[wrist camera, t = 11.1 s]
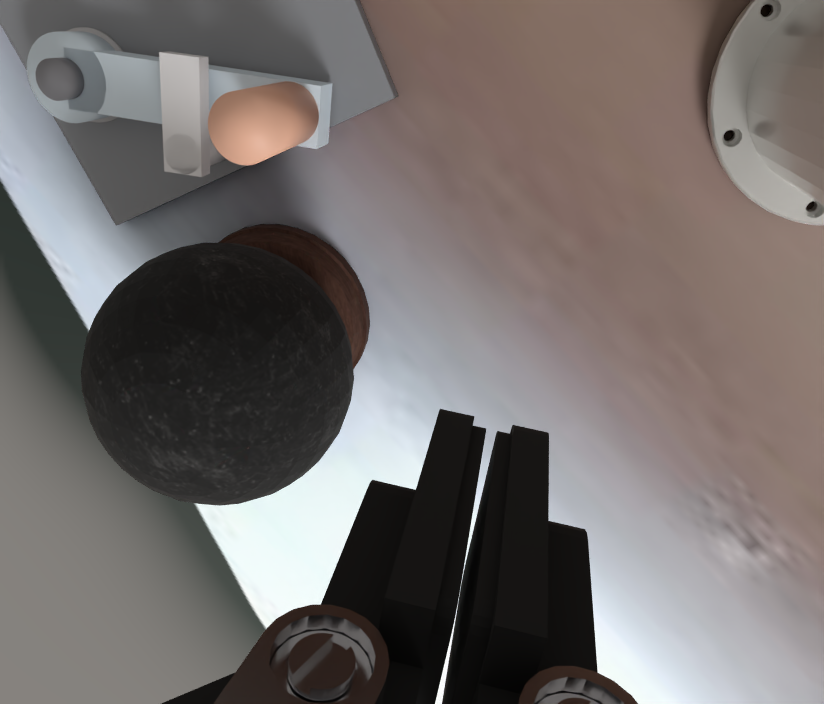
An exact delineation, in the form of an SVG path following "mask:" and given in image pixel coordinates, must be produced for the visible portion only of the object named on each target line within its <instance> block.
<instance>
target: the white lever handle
mask: <svg viewBox="0 0 824 704" xmlns="http://www.w3.org/2000/svg"><path fill="white" fill-rule="evenodd" d="M27 75H28V80H29V83H30V86H31V89H32V91H33V93H34V95H35V97H36V98H37V100H38V101H39V103H40V104H41V105H42V106H43V107H44V109H45V110H46V111H48V112H49V113H50V114H51V115H53V116H54V117H56V118H58V119H60V120H62V121H65V122H69V123H83V122H88V121H93V120H98V119H103V118H107V117H110V116H115V117H121V118H127V119H134V120H140V121H146V122H152V123H158V124H162V107H161V84H160V61H159V57H155V56H149V55H142V54H135V53H129V52H122V51H115V49H114V48H113V47H112V46H111V45H110V44H109V43H108V42H107V41H105V40H104V39H103V38H101V37H99V36H97V35H95V34H93V33H89V32H82V31H57V32H50V33H46V34H44V35H42V36H41V37H39V38H38V39H37V40H36V41H35V42H34V44H33V45H32V47H31V49H30V51H29V54H28V59H27ZM331 97H332V83H327V82H321V81H314V80H308V79H301V78H294V77H288V76H281V75H274V74H268V73H261V72H255V71H248V70H241V69H235V68H228V67H221V66H215V65H209V117H208V130H209V135H210V138H211V140H212V143H213V144H214V146H215V148H216V149H217V150H218V152H219V153H220V154H221V155H222V156H223V157H225V158H226V159H227V160H229V161H231V162H233V163H236V164H239V165H254V164H257V163H259V162H261V161H264V160H266V159H268V158H270V157H272V156H275V155H277V154H279V153H281V152H284V151H286V150H288V149H290V148H292V147H295V146H300V147H306V148H313V149H318V148H320V147H322V146H324V145H326V144H328V141H329V126H330V112H331Z"/></svg>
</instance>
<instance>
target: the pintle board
mask: <svg viewBox="0 0 824 704" xmlns="http://www.w3.org/2000/svg"><path fill="white" fill-rule="evenodd" d="M0 24H1V26H2V28H3V30H4V31H5V33H6V35H7V37H8V38H9V40H10V42H11V44H12V45H13V47H14V49H15V50H16V52H17V54H18V56H19V57H20V59H21V61H22V63H23V64H24V66H25V68H26V70H27V59H28V54H29V51H30V49H31V47H32V45H33V44H34V42H35V41H36V40H37V39H38V38H39V37H41V36H42V35H44V34H46V33H50V32H57V31H82V32H89V33H93V34H95V35H97V36H99V37H101V38H103V39H104V40H105V41H107V42H108V43H109V44H110V45H111V46H112V47H113V48H114V49H115V51H122V52H129V53H135V54H142V55H149V56H155V57H159V61H160V84H161V107H162V124H158V123H152V122H146V121H140V120H134V119H127V118H121V117H115V116H110V117H107V118H103V119H98V120H93V121H88V122H83V123H69V122H65V121H62V120H60V119H58V118H56V117H54V116H53V117H54V118H55V120H56V122H57V124H58V125H59V127H60V129H61V131H62V132H63V134H64V136H65V137H66V139H67V141H68V143H69V144H70V146H71V148H72V150H73V151H74V153H75V155H76V157H77V158H78V160H79V162H80V164H81V165H82V167H83V169H84V171H85V172H86V174H87V176H88V178H89V179H90V181H91V183H92V184H93V186H94V188H95V190H96V191H97V193H98V195H99V197H100V198H101V200H102V202H103V204H104V205H105V207H106V209H107V211H108V212H109V214H110V216H111V218H112V219H113V221H114V223H115V224H116V225H119V224H121V223H123V222H125V221H128V220H130V219H132V218H134V217H136V216H138V215H141V214H143V213H145V212H147V211H149V210H152V209H154V208H156V207H158V206H160V205H162V204H165V203H167V202H169V201H171V200H173V199H175V198H178V197H180V196H182V195H184V194H186V193H189V192H191V191H193V190H195V189H197V188H199V187H202V186H204V185H206V184H208V183H210V182H213V181H215V180H217V179H219V178H221V177H223V176H226V175H228V174H230V173H232V172H234V171H236V170H239V169H241V168H243V167H245V166H247V165H239V164H236V163H233V162H231V161H229V160H227V159H226V158H225V157H223V156H222V155H221V154H220V153H219V152H218V150H217V149H216V148H215V146H214V144H213V143H212V140H211V138H210V135H209V130H208V117H209V65H215V66H221V67H228V68H235V69H241V70H248V71H255V72H261V73H268V74H274V75H281V76H288V77H294V78H301V79H308V80H314V81H321V82H327V83H332V97H331V112H330V126H329V128H330V127H332V126H335V125H337V124H339V123H341V122H343V121H345V120H348V119H350V118H352V117H354V116H356V115H359V114H361V113H363V112H365V111H367V110H369V109H372V108H374V107H376V106H378V105H380V104H382V103H385V102H387V101H389V100H391V99H393V98H396V97H398V94H397V91H396V89H395V86H394V84H393V81H392V79H391V76H390V74H389V72H388V69H387V67H386V64H385V62H384V59H383V57H382V54H381V52H380V49H379V47H378V45H377V42H376V40H375V37H374V35H373V32H372V30H371V27H370V25H369V23H368V20H367V18H366V15H365V13H364V10H363V8H362V5H361V3H360V1H359V0H0Z"/></svg>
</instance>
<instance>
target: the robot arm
mask: <svg viewBox="0 0 824 704" xmlns="http://www.w3.org/2000/svg"><path fill="white" fill-rule="evenodd" d="M765 4H767V5H769V6H770V8H771V11H770V13H769V15H767V16H766V17H764V16H762V15H761V8H762V6H764V5H765ZM707 113H708V128H709V132H710V137H711V142H712V146H713V149H714V151H715V153H716V156H717V158H718V160H719V162H720V164H721V167H722V169H723V170H724V171H725V173H726V174H727V175H728V177H729V178H730V179H731V181H732V182H733V183H734V185H735V186H736V187H737V188H738V189H739V190H740V191H742V192H743V193H744V194H745V195H746V196H747V197H748V198H749V199H750V200H752V201H753V202H755V203H756V204H758V205H759V206H761V207H762V208H764V209H765V210H767V211H768V212H771V213H773V214H776V215H778V216H781V217H783V218H786V219H788V220H790V221H795V222H799V223H804V224H809V225H824V0H751V2H750V3H749V4H748V5H747V6H746V8H745V9H744V10H743V11H742V13H741V14H740V15H739V16H738V18H737V19H736V21H735V23H734V25H733V26H732V28H731V30H730V31H729V33H728V35H727V37H726V38H725V40H724V42H723V44H722V46H721V49H720V51H719V54H718V57H717V60H716V62H715V65H714V68H713V70H712V75H711V81H710V86H709V91H708V97H707ZM728 130H732V131H733V137H732V138H731V139H730V140H724V134H725V132H726V131H728ZM812 201H814V202H815V204H814V207H813V208H812V209H810V210H806V207H807V205H808V204H809V203H810V202H812ZM473 421H474V416H470V415H465V414H461V413H456V412H452V411H447V410H443V409H440V411H439V414H438V417H437V420H436V424H435V427H434V431H433V434H432V437H431V441H430V444H429V448H428V451H427V454H426V458H425V461H424V465H423V468H422V471H421V475H420V478H419V481H418V485H417V488H416V490H413V489H409V488H405V487H401V486H396V485H392V484H388V483H383V482H379V481H375V480H372V481H371V482H370V484H369V486H368V489H367V491H366V494H365V496H364V499H363V501H362V504H361V506H360V509H359V511H358V513H357V516H356V518H355V521H354V523H353V526H352V528H351V531H350V533H349V536H348V538H347V541H346V543H345V546H344V548H343V551H342V553H341V556H340V558H339V561H338V563H337V566H336V568H335V571H334V573H333V576H332V578H331V581H330V583H329V586H328V588H327V591H326V593H325V596H324V598H323V601H322V603H321V605H309V606H305V607H301V608H297V609H293V610H291V611H289V612H288V613H286V614H284V615H282V616H280V617H279V618H277V619H276V620H275V621H274V622H273V623H272V624H271V625H270V626H269V627H268V628H267V629H266V630H265V631H264V632H263V634H262V635H261V636H260V638H259V639H258V641H257V643H256V644H255V645H254V646H253V648H252V649H251V651H250V652H249V654H248V655H247V656H246V658H245V659H244V661H243V662H242V664H241V665H240V667H239V668H238V669H237V671H236V672H235V673H233V674H231V675H229V676H226V677H223V678H221V679H219V680H216V681H214V682H212V683H209V684H207V685H204V686H202V687H200V688H198V689H195V690H193V691H190V692H188V693H185V694H184V695H181V696H178V697H176V698H174V699H171V700H169V701H166V702H164V703H162V704H435V701H436V697H437V692H438V688H439V684H440V680H441V675H442V671H443V667H444V663H445V659H446V654H447V650H448V646H449V642H450V637H451V633H452V629H453V624H454V619H455V614H456V609H457V604H458V609H457V615H456V621H455V627H454V633H453V640H452V646H451V652H450V658H449V664H448V670H447V677H446V683H445V689H444V695H443V701H442V704H638V703H637V702H636V701H635V699H634V698H633V697H632V696H631V695H630V694H629V693H628V692H626V691H625V690H624V689H623V688H622V687H620V686H619V685H618V684H617V683H615V682H614V681H612V680H611V679H609V678H607V677H605V676H603V675H601V674H599V673H597V660H596V646H595V632H594V618H593V604H592V590H591V576H590V562H589V548H588V537H587V532H586V531H585V529H581V528H577V527H573V526H568V525H564V524H560V523H555V522H551V521H548V493H549V433H547V432H543V431H538V430H534V429H529V428H524V427H520V426H515V425H513V426H512V429H511V432H510V434H508V433H504V432H499V431H497V434H496V437H495V441H494V446H493V450H492V454H491V458H490V463H489V467H488V471H487V475H486V480H485V484H484V488H483V492H482V497H481V501H480V505H479V509H478V514H477V518H476V522H475V526H474V531H473V535H472V539H471V543H470V548H469V552H468V556H467V560H466V565H465V569H464V574H463V568H464V562H465V556H466V550H467V544H468V537H469V531H470V525H471V519H472V513H473V507H474V501H475V495H476V488H477V482H478V476H479V470H480V464H481V458H482V452H483V446H484V440H485V433H486V429H485V428H481V427H476V426H473ZM462 574H463V579H462ZM461 580H462V584H461ZM460 586H461V590H460ZM459 592H460V596H459ZM458 598H459V603H458Z"/></svg>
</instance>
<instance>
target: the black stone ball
mask: <svg viewBox="0 0 824 704" xmlns="http://www.w3.org/2000/svg"><path fill="white" fill-rule="evenodd" d="M369 327H370V319H369V307H368V303H367V299H366V296H365V292H364V289H363V287H362V285H361V283H360V281H359V279H358V277H357V275H356V273H355V272H354V271H353V269H352V268H351V267H350V265H349V264H348V263H347V261H346V260H345V259H344V258H343V257H342V256H341V255H340V254H339V253H338V252H337V251H336V250H335V249H334V248H333V247H332V246H330V245H329V244H327V243H326V242H324V241H323V240H321V239H320V238H318V237H317V236H315V235H313V234H310V233H308V232H306V231H303V230H301V229H298V228H295V227H290V226H285V225H280V224H260V225H255V226H250V227H246V228H243V229H241V230H239V231H236V232H234V233H232V234H230V235H228V236H227V237H225V238H224V239H222V240H221V241H220V242H218V243H200V244H195V245H190V246H185V247H181V248H178V249H175V250H172V251H169V252H167V253H164V254H162V255H160V256H158V257H156V258H154V259H151V260H149V261H147V262H145V263H144V264H143V265H142V266H140V267H139V268H138V269H137V270H135V271H134V272H133V273H132V274H130V275H129V276H128V277H127V278H126V279H124V280H123V281H122V282H121V283H119V284H118V285H117V286H116V287H115V288H114V290H113V291H112V292H111V294H110V295H109V296H108V298H107V299H106V300H105V302H104V303H103V305H102V306H101V308H100V310H99V311H98V313H97V315H96V316H95V318H94V321H93V323H92V325H91V328H90V330H89V333H88V335H87V338H86V344H85V350H84V356H83V362H82V369H81V380H82V392H83V396H84V400H85V404H86V407H87V412H88V415H89V419H90V422H91V425H92V427H93V429H94V431H95V433H96V435H97V438H98V439H99V440H100V442H101V444H102V445H103V446H104V448H105V450H106V451H107V452H108V454H109V455H110V456H111V457H112V458H113V459H114V461H115V462H116V463H117V464H118V465H119V466H120V467H121V468H122V469H123V470H124V471H126V472H127V473H128V474H129V475H130V476H132V477H133V478H134V479H135V480H137V481H138V482H140V483H142V484H143V485H145V486H147V487H148V488H150V489H152V490H153V491H156V492H158V493H161V494H163V495H166V496H169V497H172V498H174V499H176V500H179V501H184V502H192V503H198V504H209V505H229V504H239V503H243V502H247V501H250V500H254V499H257V498H260V497H264V496H267V495H270V494H273V493H275V492H277V491H279V490H281V489H282V488H284V487H286V486H288V485H290V484H291V483H293V482H294V481H296V480H297V479H298V478H300V477H301V476H303V475H304V474H305V473H306V472H307V471H309V470H310V469H311V468H312V467H313V466H314V465H315V464H316V463H317V462H318V461H319V460H320V459H321V457H322V456H323V455H324V454H325V452H326V451H327V450H328V448H329V447H330V445H331V444H332V442H333V441H334V439H335V438H336V437H337V435H338V434H339V432H340V429H341V427H342V424H343V421H344V419H345V416H346V413H347V410H348V407H349V404H350V401H351V396H352V389H353V381H354V375H353V369H354V367H355V366H356V364H357V363H358V361H359V360H360V358H361V356H362V354H363V352H364V349H365V346H366V344H367V341H368V334H369Z"/></svg>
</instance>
